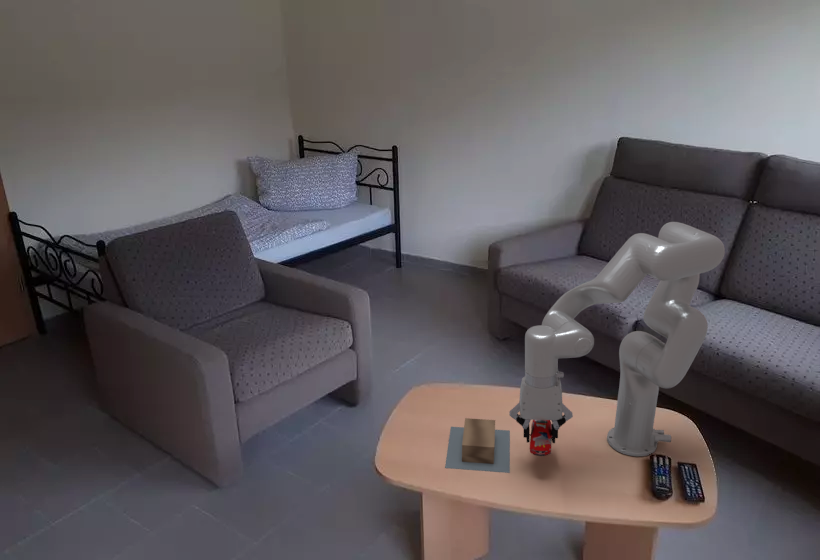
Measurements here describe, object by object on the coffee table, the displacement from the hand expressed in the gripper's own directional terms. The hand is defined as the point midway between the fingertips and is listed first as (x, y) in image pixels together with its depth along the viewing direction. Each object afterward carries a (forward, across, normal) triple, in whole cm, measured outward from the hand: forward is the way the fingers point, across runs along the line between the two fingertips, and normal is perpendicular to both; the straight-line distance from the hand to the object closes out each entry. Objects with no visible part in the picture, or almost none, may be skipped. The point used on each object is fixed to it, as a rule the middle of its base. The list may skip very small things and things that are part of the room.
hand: (540, 438), depth 165 cm
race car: (+1, 0, 0) cm, 1 cm away
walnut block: (+7, +16, -4) cm, 17 cm away
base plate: (+8, +16, -4) cm, 18 cm away
